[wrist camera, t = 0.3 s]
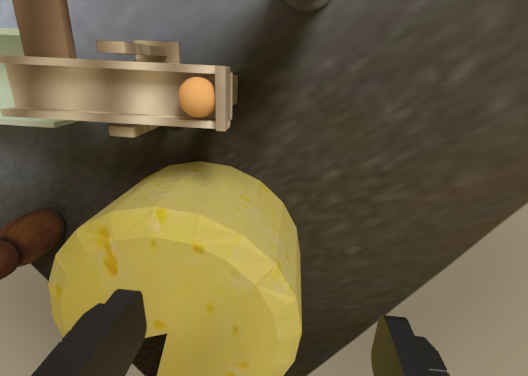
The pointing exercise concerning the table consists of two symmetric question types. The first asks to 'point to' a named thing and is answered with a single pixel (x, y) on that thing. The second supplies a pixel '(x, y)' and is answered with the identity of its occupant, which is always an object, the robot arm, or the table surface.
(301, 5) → the beer glass
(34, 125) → the tray
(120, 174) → the table surface
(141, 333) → the robot arm
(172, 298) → the cheese
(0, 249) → the wooden figurine
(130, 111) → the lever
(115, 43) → the fulcrum
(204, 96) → the ball
